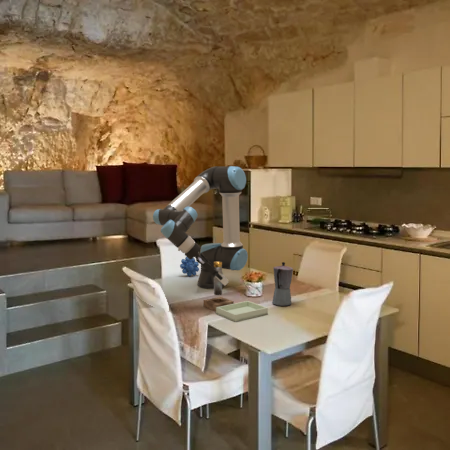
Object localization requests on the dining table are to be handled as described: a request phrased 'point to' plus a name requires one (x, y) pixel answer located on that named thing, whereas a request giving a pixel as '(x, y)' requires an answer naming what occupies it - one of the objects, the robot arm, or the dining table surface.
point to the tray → (241, 311)
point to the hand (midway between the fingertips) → (226, 282)
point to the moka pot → (282, 285)
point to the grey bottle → (216, 282)
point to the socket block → (216, 302)
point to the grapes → (189, 266)
